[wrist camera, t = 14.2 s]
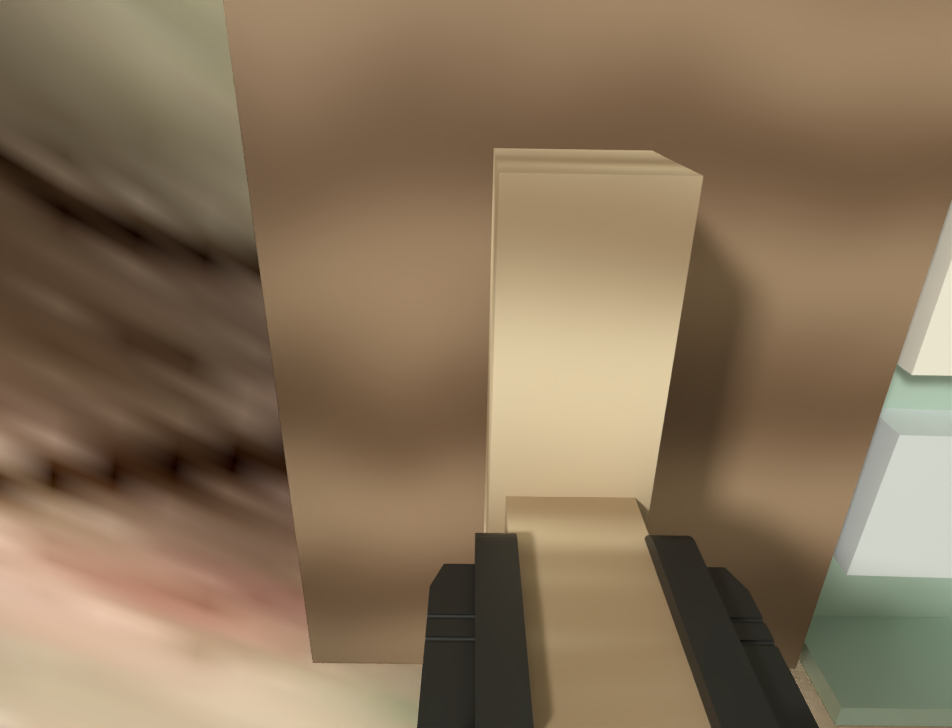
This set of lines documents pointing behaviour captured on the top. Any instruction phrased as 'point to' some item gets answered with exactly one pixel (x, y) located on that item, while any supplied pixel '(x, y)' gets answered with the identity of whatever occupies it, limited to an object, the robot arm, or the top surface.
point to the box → (885, 624)
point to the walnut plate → (469, 264)
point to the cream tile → (933, 315)
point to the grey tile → (902, 499)
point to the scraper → (588, 422)
